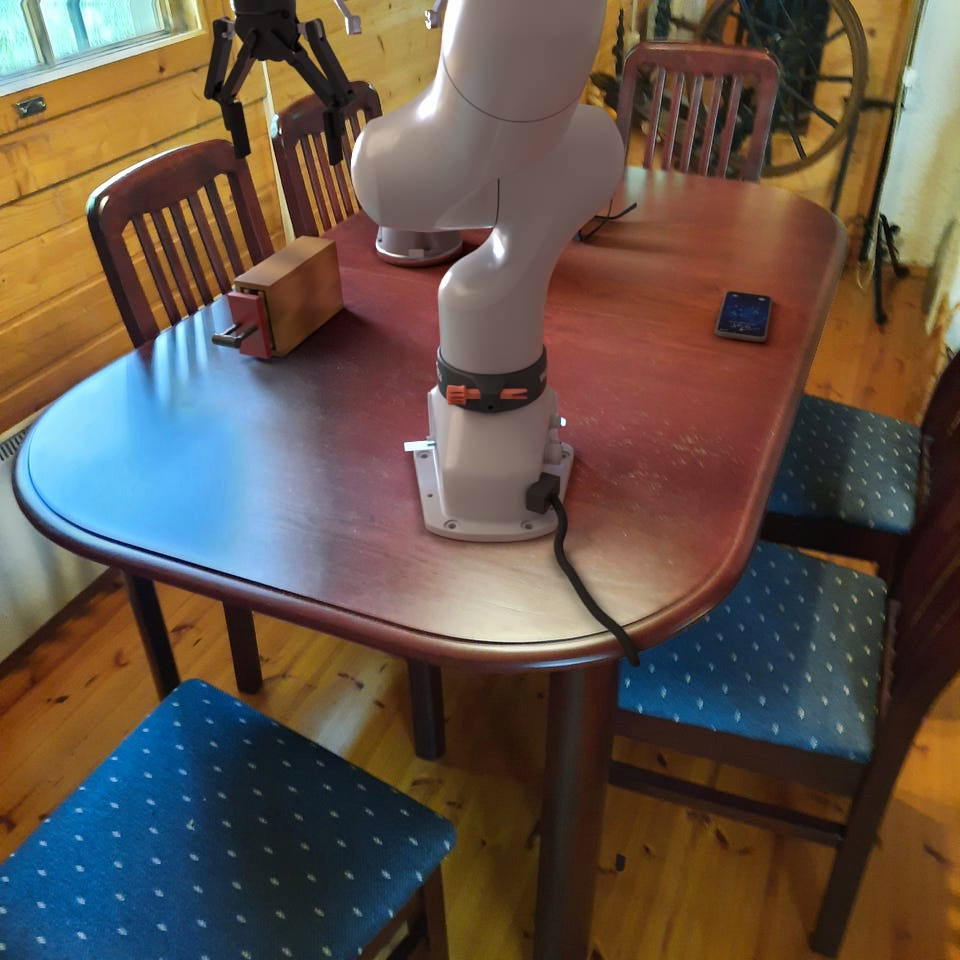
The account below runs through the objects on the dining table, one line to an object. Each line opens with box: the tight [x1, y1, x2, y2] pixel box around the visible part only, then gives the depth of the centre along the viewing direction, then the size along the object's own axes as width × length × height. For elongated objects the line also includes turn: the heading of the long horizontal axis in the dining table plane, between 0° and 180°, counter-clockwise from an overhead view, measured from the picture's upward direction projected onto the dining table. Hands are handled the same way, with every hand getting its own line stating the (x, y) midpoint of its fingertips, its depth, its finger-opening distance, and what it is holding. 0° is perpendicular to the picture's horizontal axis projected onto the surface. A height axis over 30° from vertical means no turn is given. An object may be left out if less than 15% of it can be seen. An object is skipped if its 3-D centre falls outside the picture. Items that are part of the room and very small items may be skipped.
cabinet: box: [233, 235, 345, 358], centre depth 126 cm, size 18×6×11 cm, turn 157°
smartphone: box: [714, 290, 774, 343], centre depth 128 cm, size 7×1×15 cm
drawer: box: [211, 288, 275, 360], centre depth 121 cm, size 22×5×9 cm, turn 157°
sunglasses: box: [571, 198, 638, 242], centre depth 159 cm, size 17×14×5 cm
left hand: (289, 159), depth 112 cm, fingers open, 13 cm apart
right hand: (394, 31), depth 99 cm, fingers open, 8 cm apart
